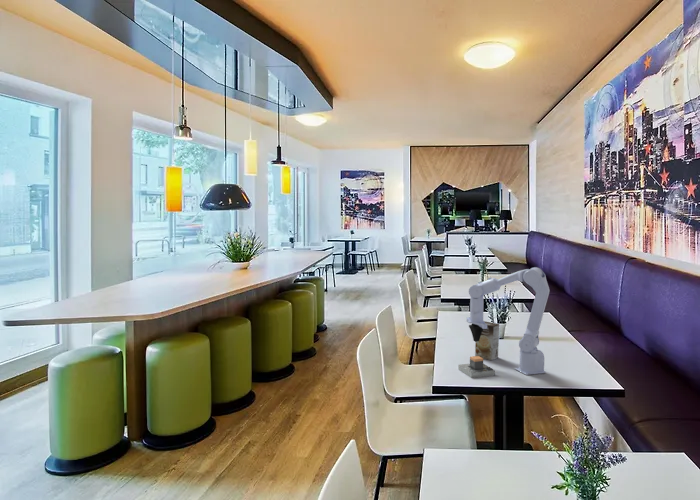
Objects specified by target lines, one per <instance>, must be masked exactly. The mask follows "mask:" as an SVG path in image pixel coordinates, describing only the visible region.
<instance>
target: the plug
mask: <svg viewBox="0 0 700 500" xmlns="http://www.w3.org/2000/svg"><path fill="white" fill-rule="evenodd" d="M469 364H470V368H471V369H473V370H481V369H483V364H484V358H481V357H480V356H475V355H474V356H473V355H472V356H470V357H469Z"/></svg>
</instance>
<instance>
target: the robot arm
mask: <svg viewBox="0 0 700 500" xmlns="http://www.w3.org/2000/svg"><path fill="white" fill-rule="evenodd" d="M517 281H518V282H521V283H523V282H525V283H526V285H529V287H531V288H532V289H533V291H534V292H535V296H534V298H533V299H534V300H533V303H532V307H531V311H530V315H529V318H528V321H527V325H526V328H525V330H524V333H523V336H522V338H521V339H519V342H518V346H519V367H515V368H514V370H516V371H518V372H520V373H522V374H523V375H526V376H529V375H537V374H538V375H539V374H545V373H546V371H545V355H544V352H543V351H542V350H541V349H538V348H537V347H538V346H539V344H540V338H539V334H540V328H541V324H542V321H543V316H544V312H545V309H546V306H547V302H548V298H549V295H550V292H551V291H550V287H549V283H548V281H547V277H546V273H545V272H544V271H543V269H541V268H539V267H537V266H534V267H531V268H530V269H529V268H526V269H520V270H518V271H516V272H512V273H510V274H508V275H505V276H503V277H501V278H499V279H498V278H496V277H488V278H487V280H486V279H485V280H484V281H479V282H478V283H476V284H473V285H471V286H470V287H469V289H468V295H469V296H470V300H469V301H470V303H469V304H470V307H469V308H470V309H469V311H470V313H469V316H468V317H466V322H467V323H468V324H469V325H468V328H469V330H470V333H471V336H472V341H474V342H475V343H476V341H479V340H480V336H481V333H482V331H483V329H487V324H486V323H485V322H484V321H485V320H484V306H485V305H484V303H485V302H484V296H487V295H488V294H492V293H494V292H497V291H499V290H501V287H502V286H504V285H507V284H511V283H514V282H517Z"/></svg>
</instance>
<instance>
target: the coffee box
mask: <svg viewBox="0 0 700 500" xmlns="http://www.w3.org/2000/svg"><path fill="white" fill-rule="evenodd" d="M483 321H484V322H485V323H486V324H487V329H483V331H482V333H481V336H480V340H479V341H476V342H475V346H474V348H475V349H474V350H475V351H474V356H480V357H481V358H483V360H490V361H495V360H496V359H497V358H499V345H500V344H499V339H500V324H499V323H495V322H489V321H485V320H483Z"/></svg>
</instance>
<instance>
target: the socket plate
mask: <svg viewBox="0 0 700 500" xmlns="http://www.w3.org/2000/svg"><path fill="white" fill-rule="evenodd" d="M458 370H459V371H460V372H461V373H463V374H465V375H467V376H468V377H469V378H471V379H473V378H481V377H482V378H483V377H491V376H496V369H493V367H491V366H488V365H486V364H484V363H483V369H481V370H473V369H471V368H470V363H465V364H458Z"/></svg>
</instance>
